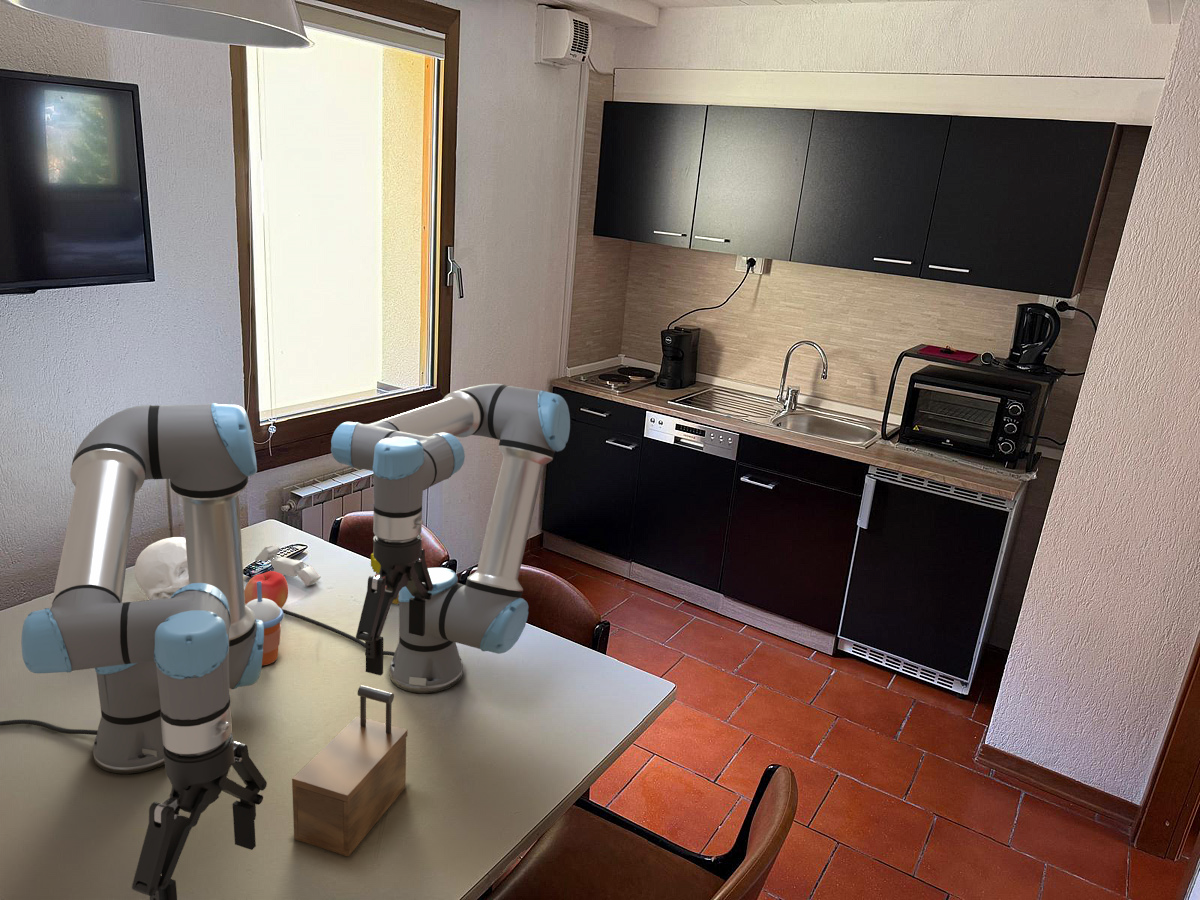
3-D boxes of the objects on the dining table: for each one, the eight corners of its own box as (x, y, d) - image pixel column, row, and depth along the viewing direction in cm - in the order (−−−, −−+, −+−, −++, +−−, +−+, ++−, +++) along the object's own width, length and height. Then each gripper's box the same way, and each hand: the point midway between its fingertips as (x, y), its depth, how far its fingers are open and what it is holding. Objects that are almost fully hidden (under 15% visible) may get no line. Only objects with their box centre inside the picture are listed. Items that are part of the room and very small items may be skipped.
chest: (355, 772, 151) (355, 723, 148) (405, 787, 148) (406, 737, 146) (293, 839, 135) (292, 785, 132) (348, 857, 133) (347, 802, 130)
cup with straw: (269, 673, 178) (266, 595, 172) (230, 665, 179) (225, 588, 174) (293, 651, 186) (290, 576, 181) (255, 644, 188) (252, 569, 183)
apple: (273, 600, 207) (272, 562, 204) (297, 613, 202) (296, 575, 199) (237, 614, 200) (234, 575, 197) (261, 628, 194) (259, 588, 191)
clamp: (253, 565, 223) (254, 542, 221) (265, 560, 226) (266, 537, 224) (309, 593, 215) (310, 569, 213) (320, 588, 218) (321, 564, 216)
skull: (201, 624, 194) (198, 559, 190) (122, 604, 200) (118, 541, 195) (240, 601, 206) (239, 540, 202) (166, 583, 212) (163, 523, 208)
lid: (357, 721, 149) (356, 676, 146) (407, 735, 146) (408, 690, 143) (292, 785, 132) (290, 736, 130) (347, 802, 130) (347, 752, 127)
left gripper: (141, 815, 89) (156, 972, 95) (291, 691, 112) (295, 824, 118) (84, 796, 91) (102, 951, 97) (243, 678, 114) (250, 810, 120)
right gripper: (376, 569, 124) (375, 696, 130) (454, 513, 146) (451, 623, 153) (331, 559, 126) (333, 685, 132) (415, 505, 148) (413, 615, 155)
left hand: (208, 882), depth 108 cm, fingers open, 13 cm apart
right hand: (396, 652), depth 142 cm, fingers open, 13 cm apart
